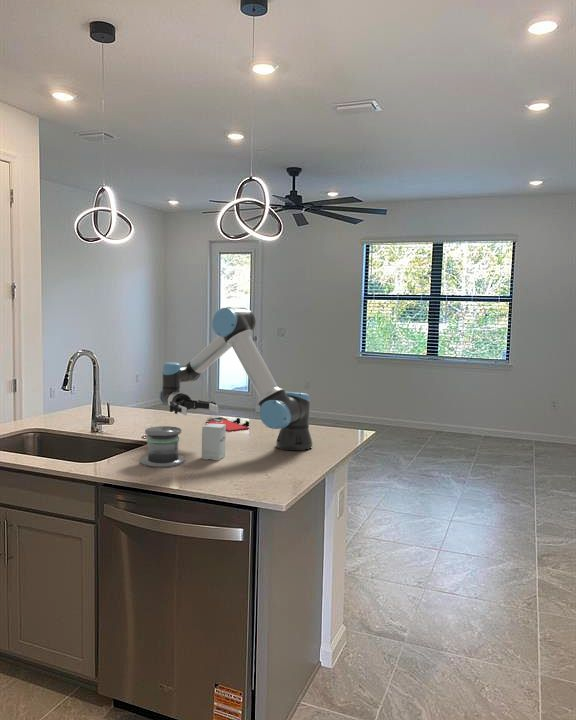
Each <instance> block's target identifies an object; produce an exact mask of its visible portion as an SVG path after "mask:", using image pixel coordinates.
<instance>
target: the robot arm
mask: <svg viewBox="0 0 576 720" xmlns="http://www.w3.org/2000/svg"><path fill="white" fill-rule="evenodd" d="M256 322H257V318H256V316H255V314H254V313H253V311H251V309H248V308H246V307H231V306H226V307H221V308H219V309H218V310H217V311H215V313H214V315H213V318H212V321H211V325H212V326H211V327H212V329H213V331H214V333H215V334H216V335H217V337H215V338H214V339H213V340H212V341H211V342H209V343H208V344H207V345H206V346H205V347H204V348H203V349H202V350H201V351H200V352H199V353H198V354H196V355H195V356H194V357H193V358H192V359H191V360H190V361H189V362H187V363H186V364H184V365H181V363H180V362H175V361H172V362H169V361H168V362H164V363H163V365H162V371H161V372H162V388H161V389H162V390H161V391H159V394H158V400H159V402H160V403H161V404H162V405H164V406H165V407H168V408H169V412H170V413H172V412H174V414H175V415H177V414H181V415H184V416H187V414H188V410H197V409H204V410H209V411H211V412H213V413H219V406H218V405H217V403H216V402H214V401H207V400H202V399H201V400H200V399H197V400H196V399H191V397H190V396H189V395H187V394H185V393H183V392H180V391H181V390H180V389H181V383H189V382H195V381H198V380H199V379H201V377H202V376H203V373H204V372H205V371H206V370H208V368H209V367H211V365H212V364H214V363H215V362H216V361H217V360H219V358H221V357H222V356H223V355H225V353H226V352H227V351H229V350H230V349H231V348H232V349H233V350H234V352H235V354H236V356H237V358H238V361H239V362H240V364H241V365H242V367H243V370H244V371H245V373H246V375H247V377H248V379H249V381H250V383H251V385H252V386H253V388H254V390H255V392H256V394H257V395H258V402H257V404H258V406H259V412H258V413H259V417H260V418H259V419H260V420H261V422H262V423H263V425H265V427H267V428H269V429H272V430H280V431H279V432H278V435H277V439H276V442H275V443H276V446H275V447H276V448H278V449H280V450H283V449H284V450H285V451H290V450H302V451H306V450H305V449H308V450H310V449H309V448H311V447H312V448H313V440H312V437H311V432H310V429H309V428H310V426H309V425H310V403H311V401H310V394H308V393H305V392H294V391H285V389H284V388H281V387H279V386H278V384H277V382H276V380H275V379H274V377H273V375H272V373H271V371H270V370H269V368H268V366H267V364H266V362H265V360H264V358H263V356H262V355H261V352H260V351H259V349H258V347H257V345H256V343H255V342H254V340H253V337H252V333H253V331H254V330H255V327H256V326H257V323H256ZM312 448H311V449H312Z"/></svg>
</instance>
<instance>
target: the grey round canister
mask: <svg viewBox="0 0 576 720" xmlns="http://www.w3.org/2000/svg"><path fill="white" fill-rule="evenodd" d="M181 433H182V429H181V428H180V427H176V426H170V425H169V426H166V425H164V426H163V425H162V426H161V425H160V426H151V427H148V428H145V430H144V434H145V435H147V437H146V442H147V455H145V456H144V457H142V458H140V464H141V465H142V464H143V465H142V466H144V465H145V466H144V467H147V466H151V467H150V468H154V467H167V468H171V467H170V466H175V467H177V466H176V465H179V466H181V465H180V464H182V463H184V462H185V463H186V458H185V456H183V455H180V454H179V442H180V436H179V435H180V434H181ZM185 463H184V464H185ZM182 465H183V464H182Z"/></svg>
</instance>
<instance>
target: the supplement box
mask: <svg viewBox="0 0 576 720" xmlns="http://www.w3.org/2000/svg"><path fill="white" fill-rule="evenodd" d="M201 428H202V430H201V431H202V432H201V459H202V460H208V459H213V460H212V461H220V460H221V459H222V458H224V457H225V456H226V432H227V431H226V424H211V423H208V424H205V425H203V426H202V427H201Z"/></svg>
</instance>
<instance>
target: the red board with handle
mask: <svg viewBox="0 0 576 720" xmlns="http://www.w3.org/2000/svg"><path fill="white" fill-rule="evenodd" d="M206 423H211V424H226V432H227V431H228V433H231V432H232V431H233V432H240V430H241V431H249V430H250V421H248V420H246V421H245V422H244V423H242V424H241V418H239V417H237V418H236V419H235V420H233V421H232V420H228V419H227V418H225V417H222V416H219V417H210V418H208V420H207V421H205V424H206ZM238 423H240V424H238ZM247 426H249V427H247ZM248 429H249V430H248ZM233 432H232V433H233Z"/></svg>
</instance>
